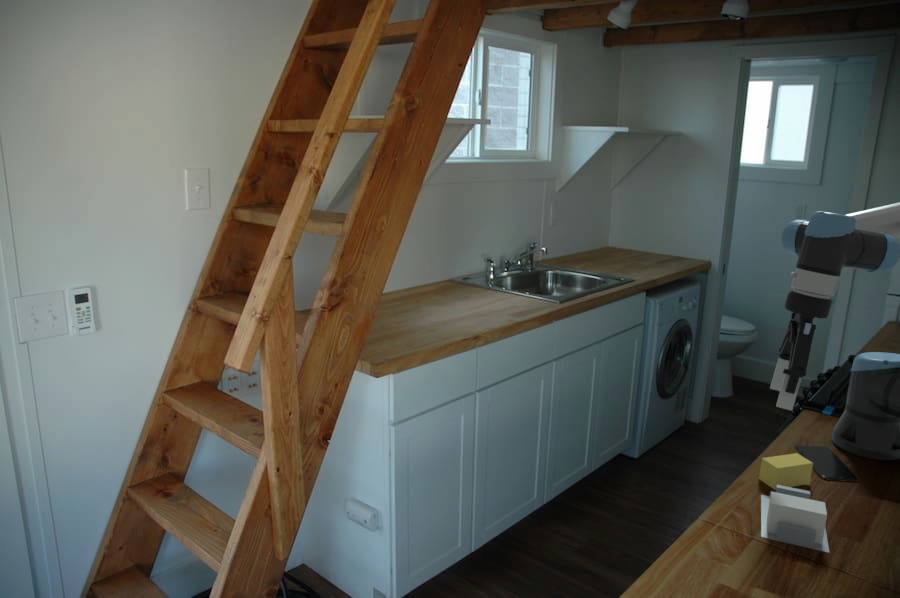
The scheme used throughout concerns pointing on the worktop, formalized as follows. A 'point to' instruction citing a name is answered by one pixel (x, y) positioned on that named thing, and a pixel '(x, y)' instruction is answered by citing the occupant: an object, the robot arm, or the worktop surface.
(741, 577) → the worktop surface
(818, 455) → the smartphone
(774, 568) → the worktop surface
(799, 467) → the butter stick brick
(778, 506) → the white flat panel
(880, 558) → the worktop surface
